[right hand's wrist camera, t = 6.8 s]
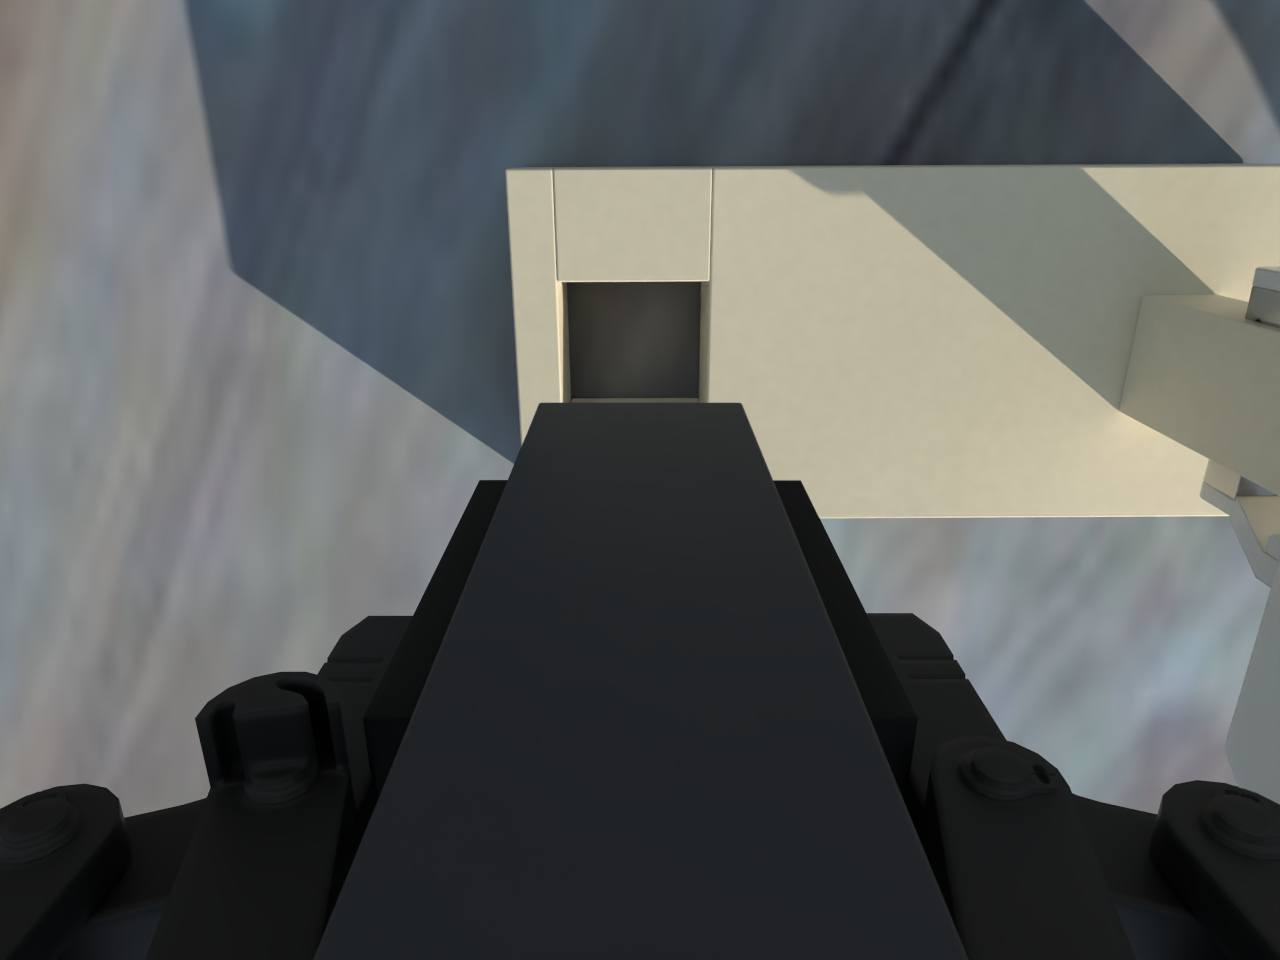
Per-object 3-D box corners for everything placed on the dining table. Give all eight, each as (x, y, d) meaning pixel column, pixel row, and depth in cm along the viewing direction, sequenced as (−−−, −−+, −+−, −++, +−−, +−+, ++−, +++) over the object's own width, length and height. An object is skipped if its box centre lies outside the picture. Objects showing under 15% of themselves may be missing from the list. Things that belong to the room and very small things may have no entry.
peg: (546, 583, 18) (296, 1721, 5) (538, 401, 17) (158, 1327, 3) (734, 582, 18) (983, 1721, 5) (742, 401, 17) (1126, 1327, 3)
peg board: (537, 481, 34) (488, 637, 23) (521, 167, 30) (452, 173, 19) (1175, 477, 34) (1434, 632, 23) (1249, 163, 30) (1611, 167, 19)
